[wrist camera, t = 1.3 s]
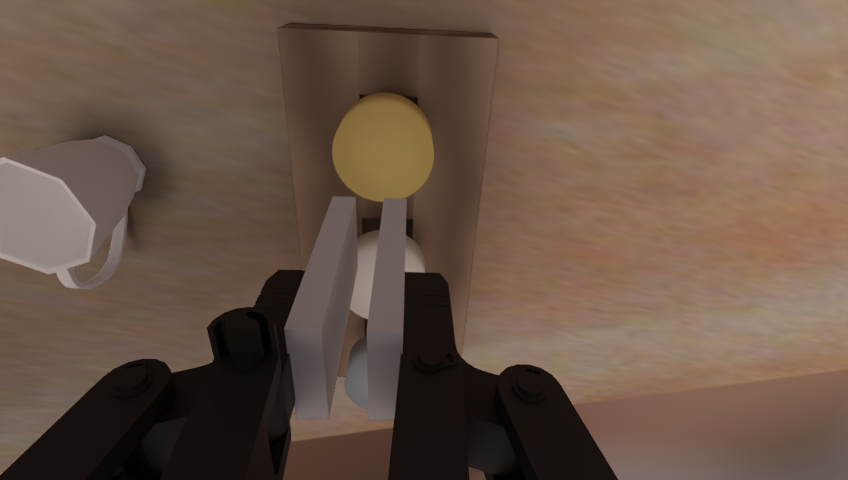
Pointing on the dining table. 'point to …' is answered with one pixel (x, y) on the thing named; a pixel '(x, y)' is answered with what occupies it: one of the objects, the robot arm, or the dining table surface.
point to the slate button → (358, 374)
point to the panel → (445, 111)
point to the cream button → (367, 266)
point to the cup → (68, 206)
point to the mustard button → (383, 147)
